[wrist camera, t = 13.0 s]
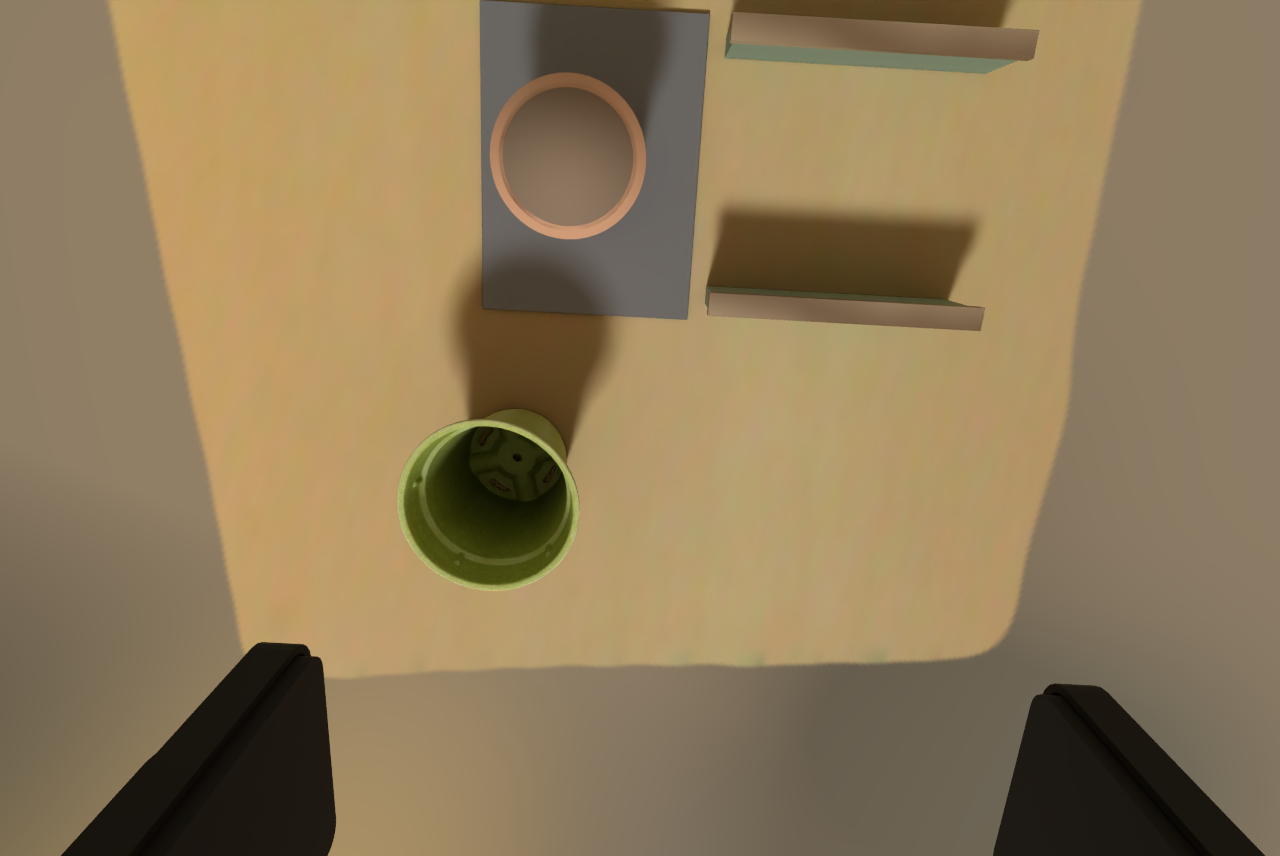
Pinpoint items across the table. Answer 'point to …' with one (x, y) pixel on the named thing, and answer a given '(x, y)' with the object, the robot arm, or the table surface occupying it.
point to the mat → (671, 125)
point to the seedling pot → (568, 155)
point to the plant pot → (490, 501)
